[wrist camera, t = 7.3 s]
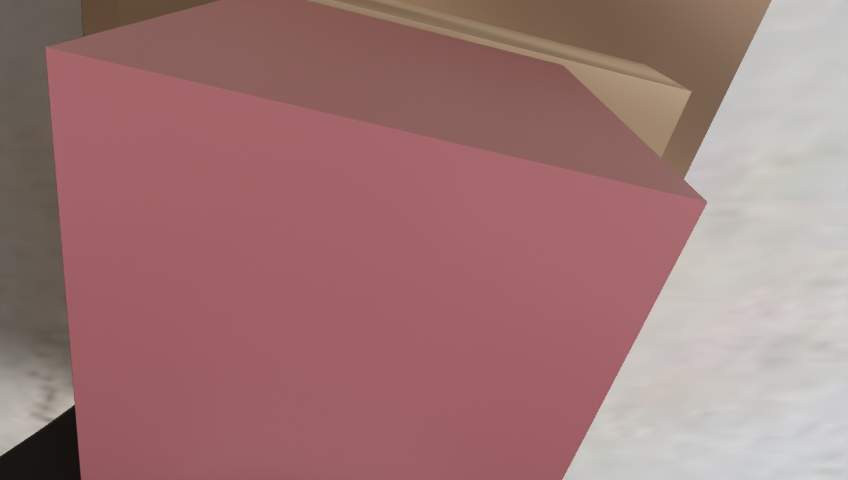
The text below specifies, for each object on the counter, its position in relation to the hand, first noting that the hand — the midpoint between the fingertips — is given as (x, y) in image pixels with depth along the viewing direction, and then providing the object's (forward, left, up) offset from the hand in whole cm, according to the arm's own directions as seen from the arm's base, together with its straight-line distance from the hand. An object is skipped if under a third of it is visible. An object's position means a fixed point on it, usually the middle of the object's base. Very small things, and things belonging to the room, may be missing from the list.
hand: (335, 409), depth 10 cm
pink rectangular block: (0, 0, -2) cm, 2 cm away
